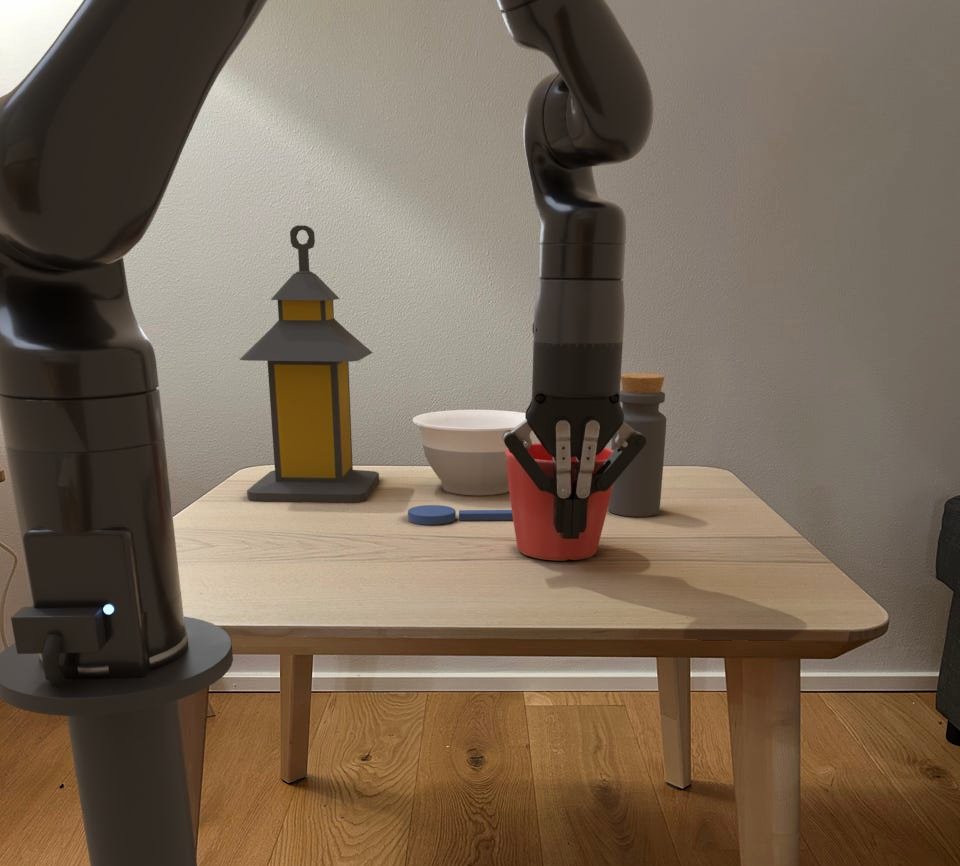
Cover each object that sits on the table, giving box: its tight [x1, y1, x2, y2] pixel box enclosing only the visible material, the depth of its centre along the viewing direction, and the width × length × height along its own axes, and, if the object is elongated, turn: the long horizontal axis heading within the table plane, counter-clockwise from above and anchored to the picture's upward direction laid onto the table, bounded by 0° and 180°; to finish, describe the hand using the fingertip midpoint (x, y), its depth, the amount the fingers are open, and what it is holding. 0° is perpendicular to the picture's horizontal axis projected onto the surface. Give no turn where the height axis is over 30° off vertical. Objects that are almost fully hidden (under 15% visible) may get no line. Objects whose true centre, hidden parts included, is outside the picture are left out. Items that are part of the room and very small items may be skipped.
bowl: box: [411, 409, 535, 496], centre depth 120 cm, size 16×16×9 cm
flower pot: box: [505, 442, 613, 561], centre depth 93 cm, size 11×11×10 cm
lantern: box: [239, 224, 380, 503], centre depth 115 cm, size 14×14×30 cm
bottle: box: [607, 372, 667, 518], centre depth 108 cm, size 6×6×15 cm
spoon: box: [407, 504, 513, 526], centre depth 106 cm, size 18×5×1 cm, turn 94°
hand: (569, 536), depth 88 cm, fingers closed
